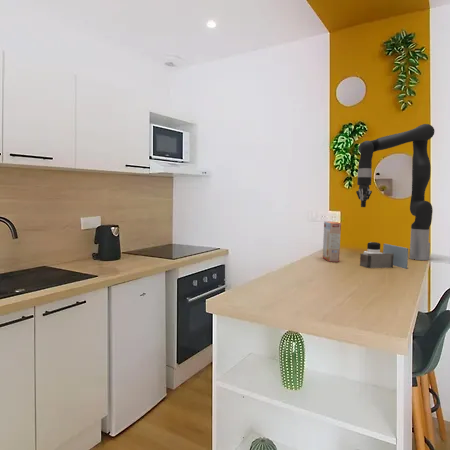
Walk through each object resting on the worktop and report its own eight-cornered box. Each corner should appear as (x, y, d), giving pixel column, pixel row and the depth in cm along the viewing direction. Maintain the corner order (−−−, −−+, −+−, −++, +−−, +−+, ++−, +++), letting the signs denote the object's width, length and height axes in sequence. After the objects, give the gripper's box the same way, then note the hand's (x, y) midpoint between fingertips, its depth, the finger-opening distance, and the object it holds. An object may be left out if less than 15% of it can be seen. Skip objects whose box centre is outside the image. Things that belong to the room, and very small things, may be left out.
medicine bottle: (383, 267, 188) (384, 243, 187) (369, 267, 187) (370, 243, 186) (376, 264, 195) (377, 241, 194) (362, 264, 194) (363, 241, 193)
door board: (384, 262, 203) (385, 243, 202) (407, 268, 185) (408, 248, 184) (382, 262, 202) (383, 243, 202) (405, 268, 185) (406, 248, 184)
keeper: (383, 264, 195) (384, 251, 194) (392, 267, 187) (393, 253, 187) (359, 265, 192) (360, 251, 192) (368, 268, 185) (369, 253, 184)
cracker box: (339, 262, 200) (341, 222, 199) (328, 262, 200) (330, 222, 199) (333, 258, 214) (334, 221, 213) (322, 257, 214) (323, 221, 213)
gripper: (377, 176, 211) (375, 207, 212) (364, 177, 223) (362, 206, 225) (365, 176, 209) (363, 207, 210) (352, 177, 222) (351, 206, 223)
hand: (363, 207), depth 218 cm, fingers closed
